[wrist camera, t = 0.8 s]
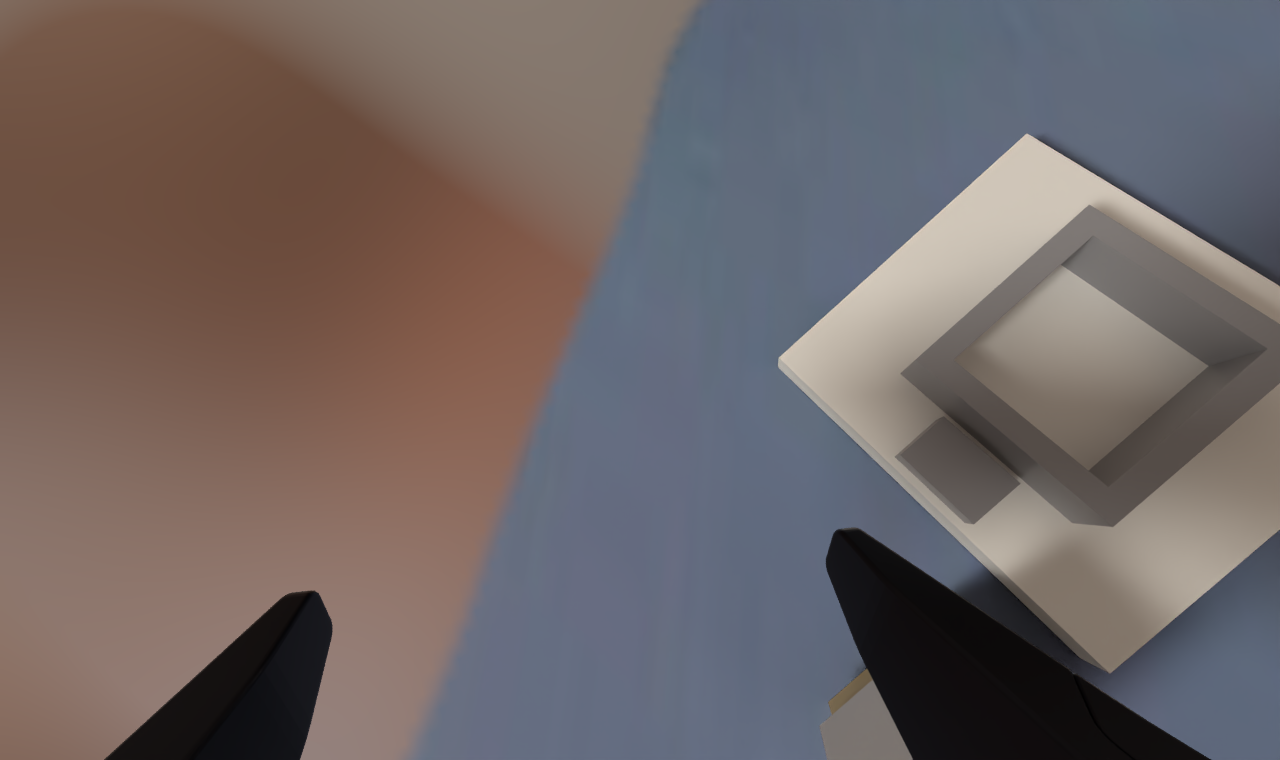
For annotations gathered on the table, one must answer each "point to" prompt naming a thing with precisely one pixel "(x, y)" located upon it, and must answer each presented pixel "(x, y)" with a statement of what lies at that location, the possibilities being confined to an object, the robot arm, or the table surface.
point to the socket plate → (1066, 395)
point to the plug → (861, 725)
